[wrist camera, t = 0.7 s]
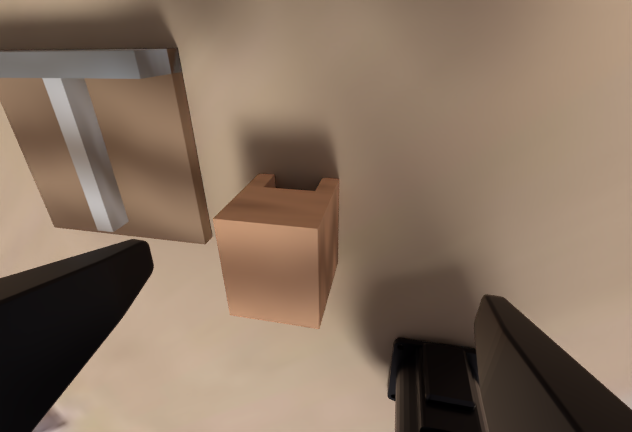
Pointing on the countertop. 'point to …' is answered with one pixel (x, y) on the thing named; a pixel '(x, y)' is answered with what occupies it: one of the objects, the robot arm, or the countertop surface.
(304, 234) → the tan cube
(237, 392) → the countertop surface
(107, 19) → the countertop surface
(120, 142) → the board
